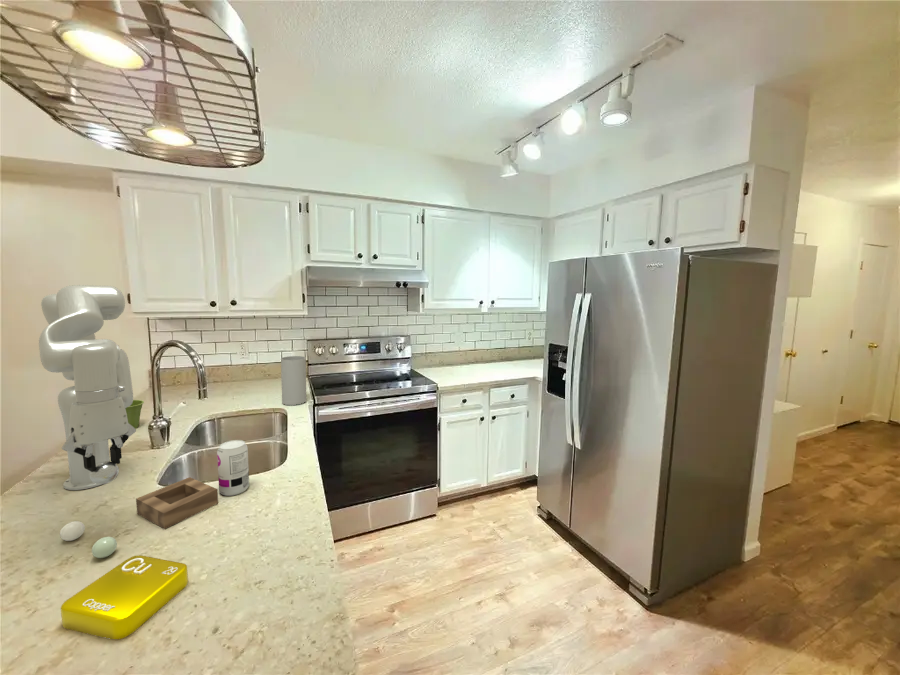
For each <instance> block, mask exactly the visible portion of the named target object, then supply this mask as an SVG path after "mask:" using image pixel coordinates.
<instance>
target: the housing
mask: <svg viewBox="0 0 900 675" xmlns="http://www.w3.org/2000/svg"><path fill="white" fill-rule="evenodd" d="M218 494H219V491H218V488H216V487H215V486H214V487H213V486H211V485H209V484H206V483H205V482H202V481H200V480H197V479H195V478H193V477H190V476H189V477H186V478H184V479H182V480H179V481H176V482H174V483H171V484H169V485H166V486H164V487H161V488H159V489H157V490H154V491H152V492H149V493H147V494H144V495H141V496H139V497H136V498H135V502H136V505H135V506H136V515H139V516H140V517H142V518H145V519H146V520H148V521H149V522H151V523H153V524H155V525H156V526H159V527H160V528H162V529H163V530H167V529H169V528H170V527H172V526H174V525H177V524H178V523H180V522H181V523H182V521H185V520H186V519H189V518H191V517H193V516H195V515H197V514H200V513H201V512H203V511H205V510H208V509H209V508H212V507H214V506H215V505H218V504H219V497H218Z"/></svg>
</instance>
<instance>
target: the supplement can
mask: <svg viewBox="0 0 900 675" xmlns="http://www.w3.org/2000/svg"><path fill="white" fill-rule="evenodd" d="M216 457H217V475H218V477H217V478H218V494H221V495H223V496H226V497H232V496H237V495H240V494H242V493H244V492H245V491H246V490H247V489H248V488H249V486H250V476H249V475H250V474H249V473H250V472H249V450H248V445H247V443H246V441H245V440H242V439H234V440H227V441H225V442H223V443H221V444H220V445H219V446H218V449H217V450H216Z"/></svg>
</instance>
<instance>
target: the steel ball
mask: <svg viewBox="0 0 900 675" xmlns="http://www.w3.org/2000/svg"><path fill="white" fill-rule="evenodd" d="M119 471H120V470H119V466H118V464H115V463H114V462H111V460H110V461H104V462H100V463H98V464H96V471H94V472H91V471H90V474H89V476H90V479H91V481H92V482H94V483H96V484H102V485H106V484H108V483H110V482H112V481H113V480H115V479H116V478H117V477H118V475H119Z"/></svg>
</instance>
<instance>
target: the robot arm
mask: <svg viewBox="0 0 900 675" xmlns="http://www.w3.org/2000/svg"><path fill="white" fill-rule="evenodd" d="M40 306H41V309H42V310H41V311H42V313H43V316H44V318H45V320H46V322H47V324H48V325H47V326H46V327H45V328H44V329H43V330H42V331H41V333H40V335H39V339H38V350H39V357H40V363H41V365H42V366H43V369H45V370H46V371H48V372H50V373H61V374H62V376H63V378H64V379H66V380H68V381H73V382H74V385H71V386H68V387H65V388H64V389H62V390H61V391H60V392H59V393H58V394H57V403H58V407H59V411H60V413H61V416H62V420H63V425H64V432H65V439H66V440H65V442H64V444H63V445H62V447H61V449H62V450H63V451H65V452H67V453H66V454H67V462H68V463H67V464H68V471H69V477H68V478H67V479H65V481H64V482H63V488H64V490H69V491H81V490H87V489H92V488H96V487H99V486H101V485H103V484H96V483H94V482H92V481H91V479H90V476H89V474H90V471H91V472H94V471H96V464H98V463H100V462H104V461H110V462H114V463H115V464H116V465H119V464H121V459H122V455H123V454H122V448H123V447H124V444H125V442H126V441H128V439H129V438H130V437H131V436H132V435H133V434H135V433H136V432H137V428H136V429H135V428H134V427H133V426H131V425H130V424H129V423H128V419H127V413H126V409H125V408H127V407H129V406H130V405H131V404H132V402H133V400H134V389H133V384H132V383H133V382H132V376H131V369H130V368H131V367H130V361H129V357H128V355H127V353H126V351H125V350H124V349H122V348H120V345H118V344H117V343H116V342H115V341H114V340H112V339H107V338H104V339H103V338H100V339H96V336H95V334H96V333H98V332H99V331H100V330H101V329H102V327H103V326H104V321H108V320H109V321H112V320H113V321H114V320H116V319H118V318H120V316H121V315H122V314H123V313H124V310H125V308H126V299H125V296H124V294H123V292H122V291H121V290H120V289H119V288H118V287H115V286H113V285H93V284H92V285H88V284H87V285H84V284H83V285H80V284H77V285H75V284H74V285H67V286H64V287H62V288H60V289H59V290H58V291H57V293H52V294H47V295H46V296H44V297H42V299H41V303H40ZM109 440H110V442H111V446H109Z"/></svg>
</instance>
